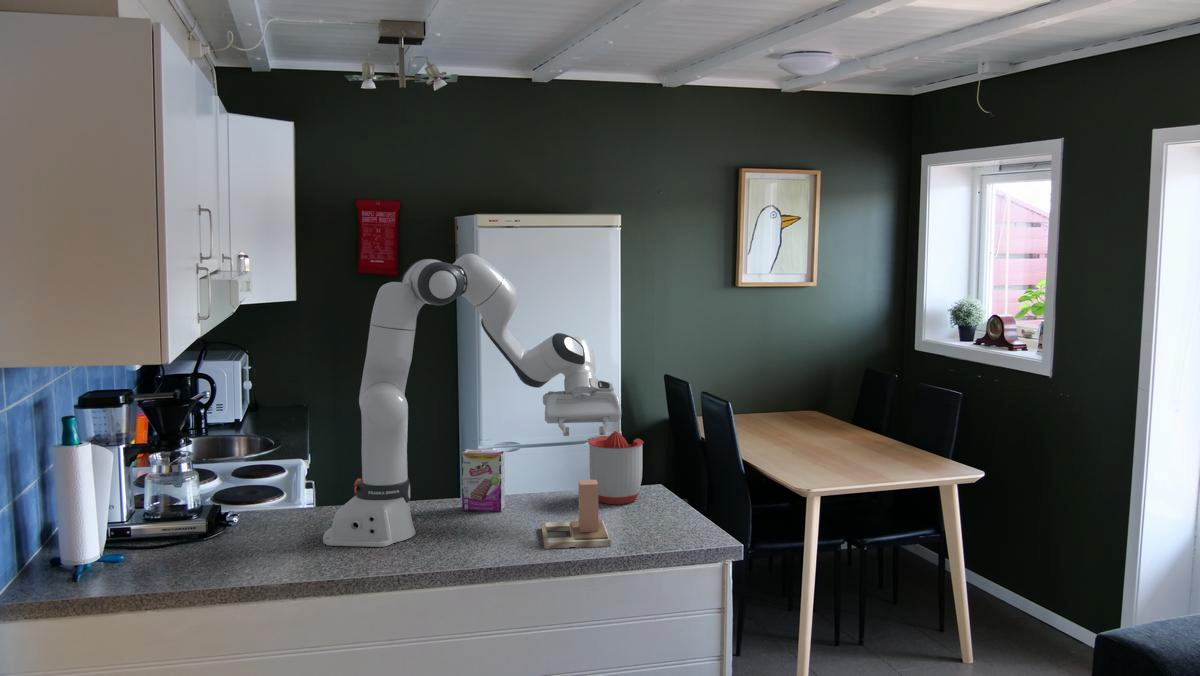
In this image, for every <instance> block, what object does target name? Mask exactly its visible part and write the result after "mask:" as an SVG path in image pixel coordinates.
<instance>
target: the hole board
mask: <svg viewBox="0 0 1200 676" xmlns="http://www.w3.org/2000/svg"><path fill="white" fill-rule="evenodd" d="M541 534H542V535H541V536H542V541H543V547H544V549H547V550H548V549H549V550H550V549H567V548H568V549H570V548H569V547H576V548H592V547H593V548H595V547H598V548H599V547H601V548H602V547H611V544H612V543H611V542H612V541H611V538H610V534H609V533H608V530H607V527H606V525H605V522H604V520H602V519H598V532H580V529H579V520H574V521H573V520H572V521H571V520H570V521H558V522H557V521H554V522H550V521H549V522H541Z"/></svg>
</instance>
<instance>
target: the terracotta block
mask: <svg viewBox="0 0 1200 676" xmlns="http://www.w3.org/2000/svg"><path fill="white" fill-rule="evenodd" d="M598 520H599V501H598V482H597V480H590V479H578V521H579V529H580V532H598Z"/></svg>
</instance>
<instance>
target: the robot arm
mask: <svg viewBox="0 0 1200 676" xmlns="http://www.w3.org/2000/svg"><path fill="white" fill-rule="evenodd" d="M460 296H462V297H463V298H465V299H466V300H467V301H468V302H469V303H470V304H471V305H472V306H473V307H474V308H475V309H476V310H477V312H479V314H480V316H481V318H480V322H481V323H480V324H481V328H482V329H483V331H484V333H485V334H486V335H487V337H488V338H489V340H490V341H491V342H492V344H493V345H494V346H495V347H496V348H497V349H498V351H499V352H500V353H501V355H502V356H503V357H504V358H505V359H506V361H508V363H509V364H510V365H511V367H512V369H513V370H514V371H515V373H516V376H517V377H518V378H519V380H520V381H521V382H522V383H523V384H524V385H526V386H528V387H531V388H538V389H539V388H542V387H543V386H544V385H545V384H547V383H548V382H550V381H551V380H552V379H553V378H555V377H557V376H558V375H559V374H562V375H564V380H563V381H564V382H563V385H564V386H563V387H564V390H560V391H551V390H550V391H547V392H546V393H544V394H543V396H542V404H543V405H544V406H545V407H544V422H546V423H547V424H558V428H559V429H560V430H561V431H562V434H563V435H562V436H563V437H570V427H569V426H568V427H567V426H566V425H565V424H582V423H583V424H585V423H591V424H593V423H602V425H601V426H599V429H598V432H599V433H598V435H599V436H606V429H607V428H608V427H609V423H617V422H619V421H620V420H621V418H622V407H621V402H620V400H619V399H620V398H619V396H618V394H617V393H616V392H615V385H614V383H612V382H609V381H606V380H605V381H604V380H601V379H599V378H597V377H596V374H595V373H596V361H595V355H594V352H593V347H592V345H591V344H590V342H589V341H588V340H586V339H585V338H584V337H579V336H573V337H572V336H571V335H568V334H565V333H561V332H557V333H555V334H553V335H551V336H550V337H547V338H545V340H543V341H542V342H540V343H539V344H538V345H536V346H534V347H533V348H532V349H525V348H523V346H522V345H521V344H520V343H519V341H518V340H517V338H516V337H515V336H514V335H513V334H512V333H511V331H510V329H509V328H508V323H510V322H509V321H510V320H511V318H512V316H513V315H514V313H515V311H516V307H517V305H518V300H519V299H518V292H517V289H516V286H515V285H514V284H513V283H512V282H511V281H510V279H509V278H507V277H506V276H505V275H504V274H503V273H502V272H501V271H500V270H499V269H497V268H496V267H495V266H494V265H493V264H491V263H490V262H489V261H487V260H485V259H484V258H482V256H479V255H478V254H476V253H466V254H463V255H461V256H460V257H459V258H457V259H456V260H455V261H454V262H453V263H449V262H443V261H442V260H438V259H434V258H433V259H432V258H422V259H418V260H416V261H414V262H412V263H411V264H409V266H408V267H407V269H406V270H405V271H404V273H403V274H402V276H401V277H400V278H399V279H398V281H390V282H387V283H385V284H383V285H381V286H380V287H379V289H378V291H377V294H376V296H375V300H374V303H373V308H372V312H371V317H370V322H369V331H368V339H367V347H366V354H365V360H364V365H363V371H362V377H361V385H360V389H359V396H358V397H359V398H358V403H359V409H360V413H361V414H360V415H361V469H362V470H361V474H362V475H361V476H362V477H361V478H356V480H355V482H354V486H353V489H354V496H353V497H352V498H351V499H349V500H348V501H347V502H345V503H344V504H343V505H342V506H341V507H340V508H338V509H337V511H336V512H335V514H334V515H333V519H332V524H331V527H329V528H327V530H326V531H325V532H324V534H323V536H322V542H323V544H324V545H325V544H326V546H333V547H334V546H335V547H337V546H338V547H340V546H341V547H371V548H375V547H378V548H383V547H388V546H390V545H392V544H394V543H395V544H396V543H399V542H403V541H406V540H408V539H411V538H412V537H414V536H416V529H415V526H414V522H413V518H412V514H411V513H412V512H411V507H410V506H411V505H410V500H411V484H410V478H409V477H408V431H409V430H408V426H409V425H408V424H409V422H408V421H409V405H408V403H409V402H408V401H407V398H406V396H405V395H406V394H405V393H406V388H407V387H406V386H407V381H408V376H409V373H410V367H411V363H412V359H413V352H414V351H413V350H414V345H415V344H414V343H415V336H416V328H417V318H418V315H419V313H420V310H421V308H422V307H423V306H424V305H425V304H428V305H433V306H444V305H447V304H449V303H452V302H453V301H454V300H456V299H457V298H459V297H460Z"/></svg>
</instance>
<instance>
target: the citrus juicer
mask: <svg viewBox="0 0 1200 676" xmlns="http://www.w3.org/2000/svg"><path fill="white" fill-rule="evenodd" d="M643 444H644V441H643V440H642V439H641V438H638V437H637V438H635V439H634V440H633V441H632V444H629V443H628V441H627V440H626V438H625V437H624V436H623V434H622V433H620V432H619V431H617V430H615V431H612V433H611V434H610V435H607V436H606V435H603V436H598V437H594V438H590V440H589V441H588V445H589V447H588V448H589V449H588V450H589V480H597V482H598V502H599V501H600V503H604V504H610V505H617V504H622V505H625V504H630V503H632V502H635V501H636V500H637V498H638V496H639V493H640V489H641V484H642V480H643Z"/></svg>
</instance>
